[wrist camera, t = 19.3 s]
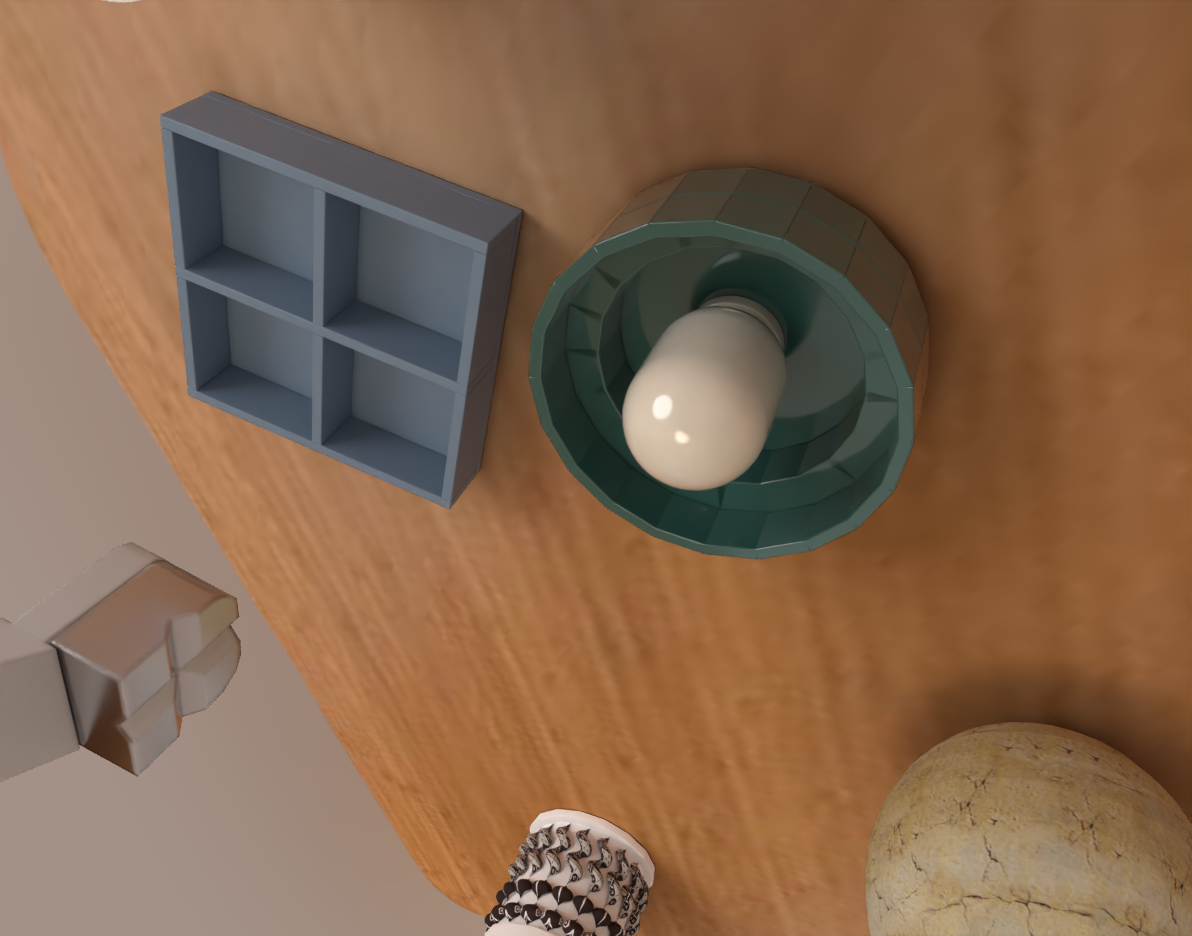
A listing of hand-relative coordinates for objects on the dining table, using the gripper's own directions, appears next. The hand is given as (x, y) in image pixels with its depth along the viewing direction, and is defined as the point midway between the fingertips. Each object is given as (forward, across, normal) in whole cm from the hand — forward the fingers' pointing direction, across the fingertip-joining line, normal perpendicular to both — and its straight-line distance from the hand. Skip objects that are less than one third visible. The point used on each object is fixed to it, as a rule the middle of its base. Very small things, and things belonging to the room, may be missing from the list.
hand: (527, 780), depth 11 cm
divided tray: (+25, +19, +13) cm, 34 cm away
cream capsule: (+25, +3, +8) cm, 27 cm away
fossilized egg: (+28, -15, +23) cm, 39 cm away
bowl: (+26, +3, +8) cm, 27 cm away
